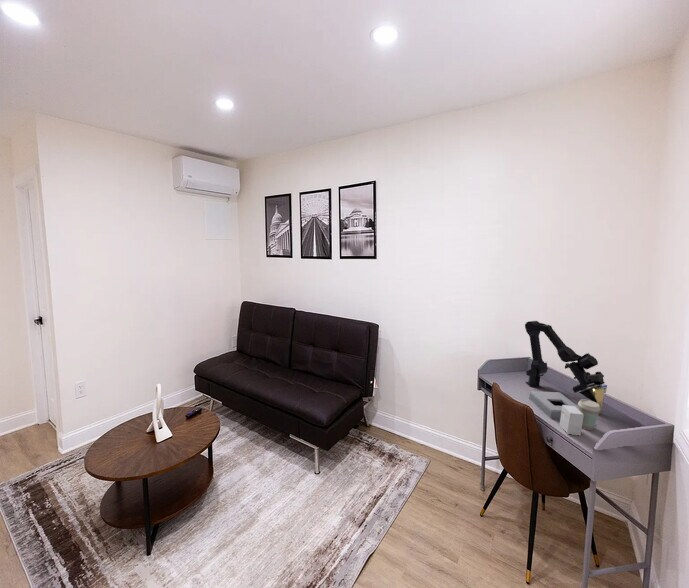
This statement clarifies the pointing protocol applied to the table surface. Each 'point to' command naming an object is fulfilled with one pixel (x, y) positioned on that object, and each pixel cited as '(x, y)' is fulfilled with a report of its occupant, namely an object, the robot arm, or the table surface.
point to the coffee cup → (589, 413)
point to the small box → (571, 420)
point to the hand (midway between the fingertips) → (599, 401)
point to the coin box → (547, 407)
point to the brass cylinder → (598, 396)
